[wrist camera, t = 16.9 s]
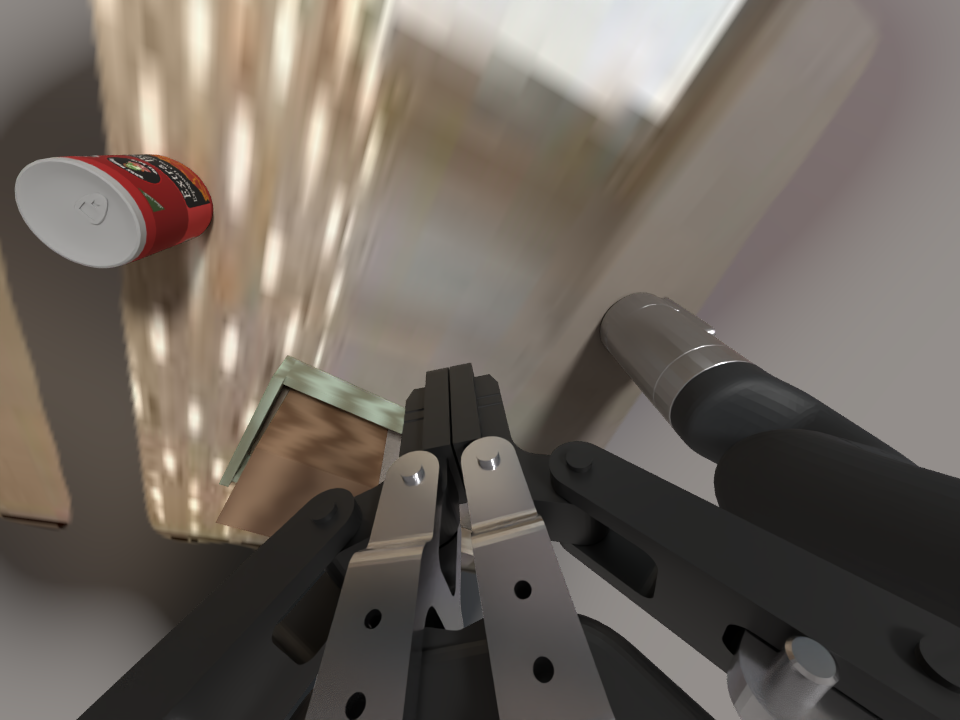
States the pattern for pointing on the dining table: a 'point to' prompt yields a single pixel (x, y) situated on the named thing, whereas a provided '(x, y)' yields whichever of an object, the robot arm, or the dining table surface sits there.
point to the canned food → (112, 206)
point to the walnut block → (304, 463)
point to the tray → (327, 391)
